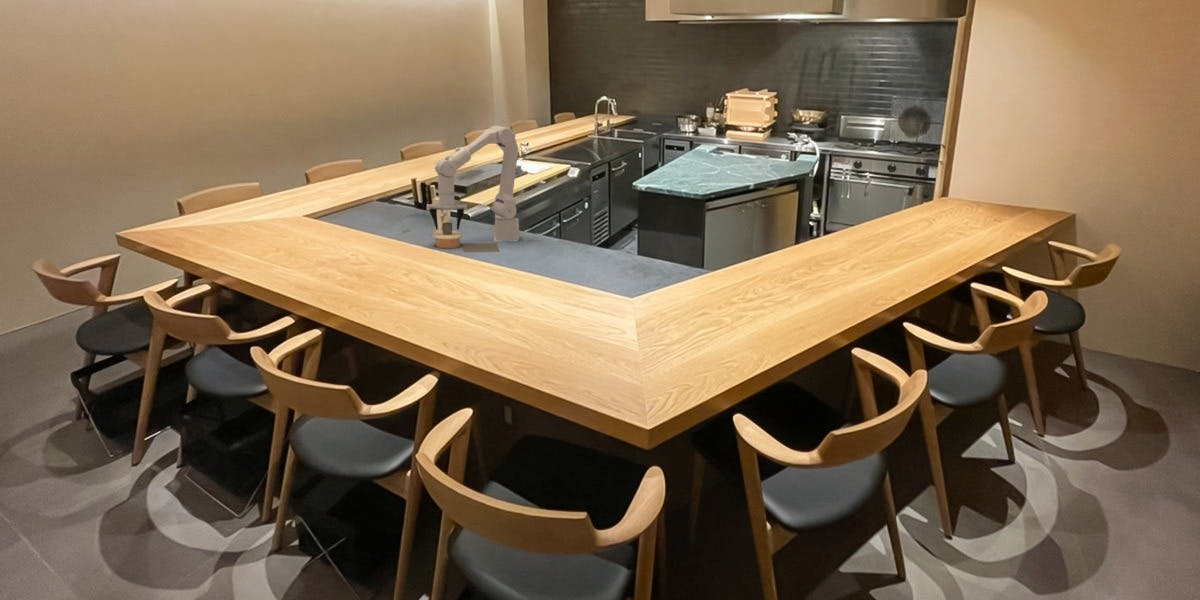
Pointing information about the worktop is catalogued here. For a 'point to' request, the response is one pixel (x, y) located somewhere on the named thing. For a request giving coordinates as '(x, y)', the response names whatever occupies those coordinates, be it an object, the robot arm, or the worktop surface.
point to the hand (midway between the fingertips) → (447, 229)
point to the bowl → (447, 243)
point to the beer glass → (441, 215)
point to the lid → (447, 232)
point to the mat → (480, 247)
